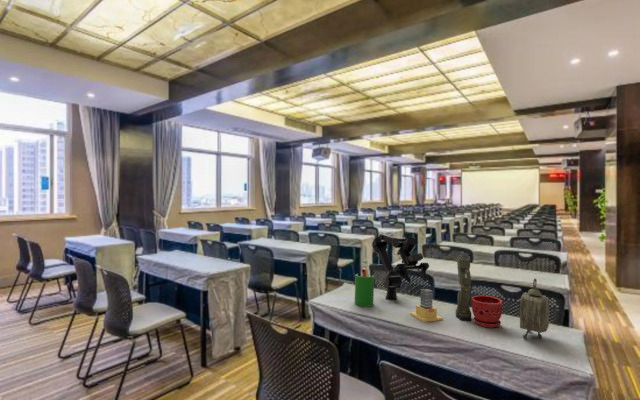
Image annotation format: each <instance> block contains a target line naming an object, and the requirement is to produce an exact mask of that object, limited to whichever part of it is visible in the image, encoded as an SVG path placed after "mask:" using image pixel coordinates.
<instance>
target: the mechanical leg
mask: <svg viewBox="0 0 640 400" xmlns="http://www.w3.org/2000/svg"><path fill="white" fill-rule="evenodd" d="M456 263H457V264H456V265H457V277H458V284H459V285H460V291H458V292H457V306H456V309H455V317H456V318H458V319H459V320H460V321H464V322H472V310H471V308H470V307H471V306H470V305H471V294H472V293H471V289H472V288H471V287H472V286H471V285H472V277H471V271H470V268H471V262H470V260H469V259H466V258H465V257H464V258H463V257H462V258H461V257H458V258H457V260H456Z"/></svg>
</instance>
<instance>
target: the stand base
mask: <svg viewBox="0 0 640 400" xmlns="http://www.w3.org/2000/svg"><path fill="white" fill-rule="evenodd" d="M437 312H438V308H436V307H435V306H432V308H430V309H424V308H422V307H420V304H417V305H415V311H412V312H411V311H410V312H409V315H410V316H412V317H413V318H415V319H417V320H419V321H421V322H423V323H429V322H436V321H443V317H442V316H440V315H438V313H437Z"/></svg>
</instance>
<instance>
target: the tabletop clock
mask: <svg viewBox="0 0 640 400" xmlns="http://www.w3.org/2000/svg"><path fill="white" fill-rule="evenodd" d="M537 284H538V283H537V279H536V278H534V279H533V282H532V288H530V289H528V291H527V292H523V293H522V295H521V297H520V303H519V305H520V307H519V328H520V329H522V330H526V332H525V334H523V335H522V338H523V339H524V340H526V339H527V338H528V334H529V333H530V332H535V333H537V338H538V339H542V338H543V335H542V334H543V333H546V332H547V330H548V328H549V326H550V298H549V297H547V296H545V295H543V294H542V293H541V291H540V290H539V289H537Z"/></svg>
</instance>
